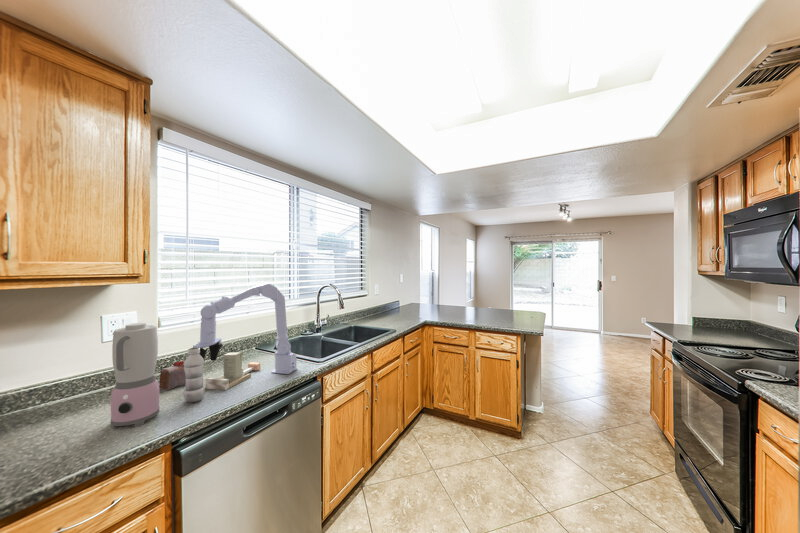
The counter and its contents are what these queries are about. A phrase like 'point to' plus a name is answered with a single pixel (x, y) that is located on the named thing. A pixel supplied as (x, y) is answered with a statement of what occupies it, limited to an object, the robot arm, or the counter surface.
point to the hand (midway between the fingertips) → (207, 362)
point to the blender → (134, 375)
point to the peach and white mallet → (251, 367)
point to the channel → (223, 382)
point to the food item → (172, 376)
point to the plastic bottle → (194, 376)
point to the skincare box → (232, 366)
